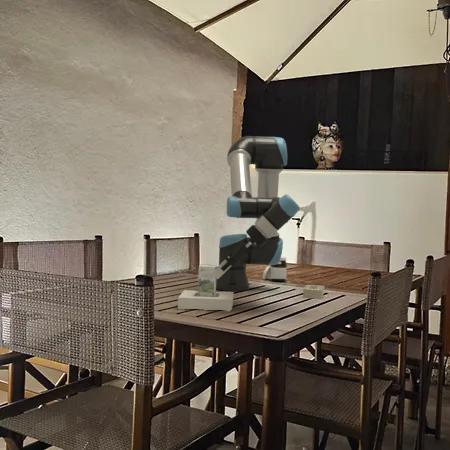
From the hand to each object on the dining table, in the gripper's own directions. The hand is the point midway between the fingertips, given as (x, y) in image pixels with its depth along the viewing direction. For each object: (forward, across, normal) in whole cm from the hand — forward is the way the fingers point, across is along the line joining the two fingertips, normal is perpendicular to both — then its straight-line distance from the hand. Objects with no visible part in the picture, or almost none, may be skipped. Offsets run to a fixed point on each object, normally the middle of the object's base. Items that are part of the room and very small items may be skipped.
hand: (216, 273), depth 189 cm
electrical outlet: (-17, +36, -36) cm, 54 cm away
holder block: (+10, +1, -6) cm, 12 cm away
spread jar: (-7, +74, -24) cm, 79 cm away
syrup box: (+11, 0, -6) cm, 12 cm away
